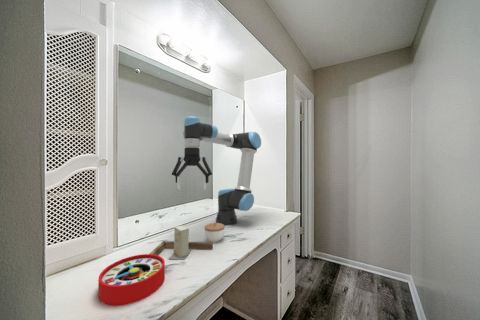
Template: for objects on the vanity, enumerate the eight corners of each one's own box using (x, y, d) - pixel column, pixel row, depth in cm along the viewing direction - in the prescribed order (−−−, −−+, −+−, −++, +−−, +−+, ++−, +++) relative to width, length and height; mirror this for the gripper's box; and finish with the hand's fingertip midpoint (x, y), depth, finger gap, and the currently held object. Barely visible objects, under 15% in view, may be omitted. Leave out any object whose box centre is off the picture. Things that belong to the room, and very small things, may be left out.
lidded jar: (221, 245, 97) (221, 226, 97) (201, 243, 99) (201, 225, 99) (226, 237, 107) (226, 220, 108) (208, 235, 110) (208, 219, 110)
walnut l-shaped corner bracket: (163, 247, 95) (163, 241, 95) (212, 248, 93) (212, 242, 93) (145, 264, 79) (145, 257, 79) (204, 266, 77) (204, 259, 77)
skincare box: (173, 253, 88) (173, 226, 88) (182, 250, 91) (182, 224, 91) (180, 258, 83) (180, 230, 83) (189, 254, 86) (189, 228, 87)
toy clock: (174, 266, 67) (107, 296, 52) (174, 283, 67) (107, 318, 52) (151, 249, 80) (92, 269, 66) (151, 263, 80) (92, 285, 66)
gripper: (164, 147, 94) (164, 190, 93) (214, 146, 92) (214, 190, 92) (171, 148, 101) (171, 188, 101) (217, 147, 99) (217, 188, 99)
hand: (192, 189), depth 96 cm, fingers open, 13 cm apart
